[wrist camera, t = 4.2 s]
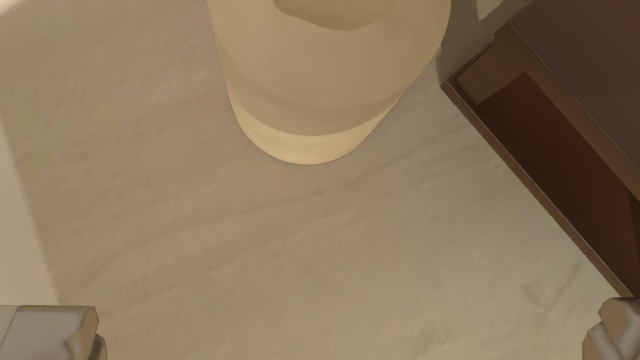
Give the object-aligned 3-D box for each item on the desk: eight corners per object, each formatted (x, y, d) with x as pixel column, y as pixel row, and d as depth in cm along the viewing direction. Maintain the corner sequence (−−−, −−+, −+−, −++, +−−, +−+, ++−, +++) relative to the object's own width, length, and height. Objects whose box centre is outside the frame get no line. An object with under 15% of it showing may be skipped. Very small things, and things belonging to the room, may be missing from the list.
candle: (232, 16, 22) (202, -185, 12) (380, 23, 22) (472, -164, 12) (227, 164, 21) (190, 84, 11) (380, 168, 21) (477, 95, 11)
